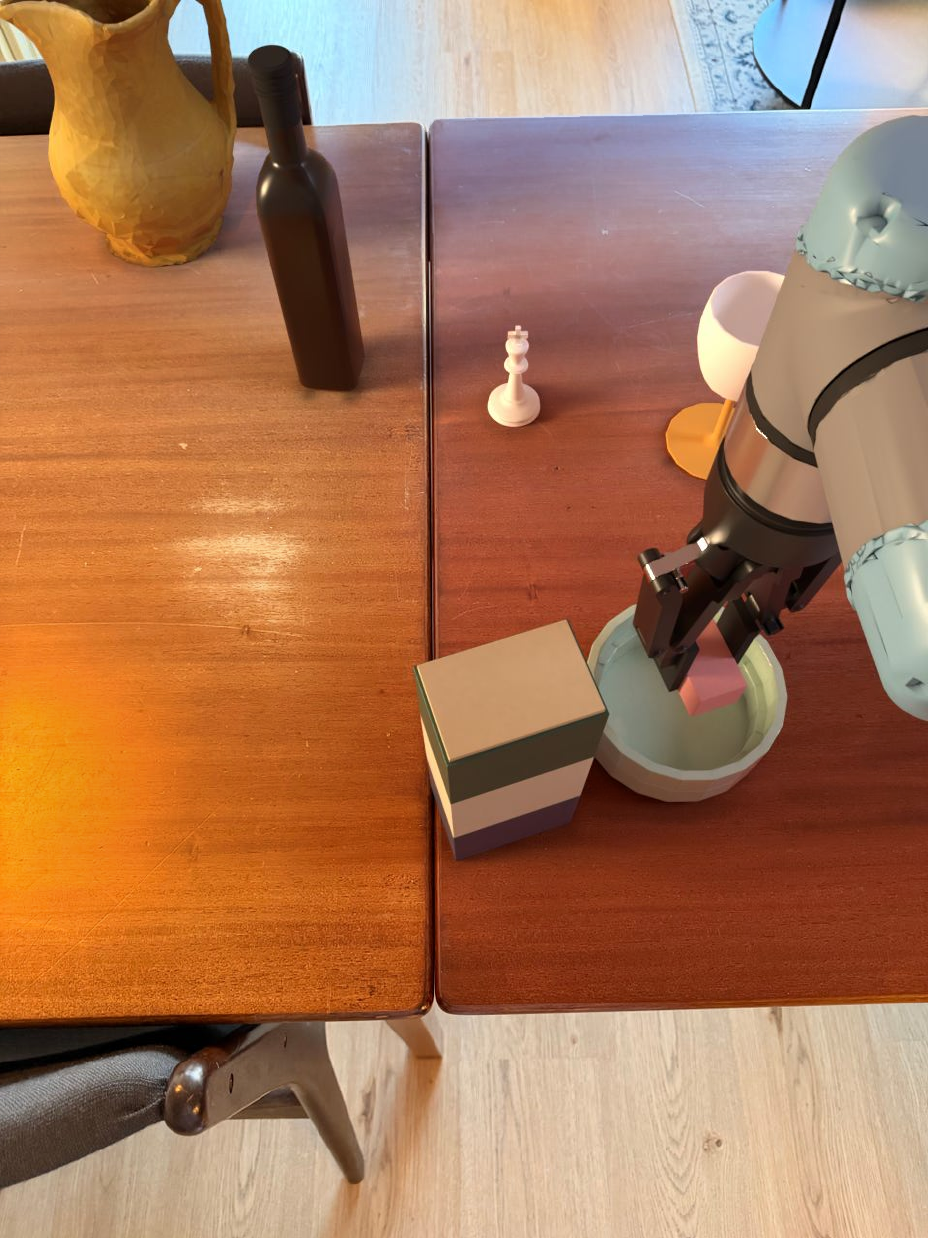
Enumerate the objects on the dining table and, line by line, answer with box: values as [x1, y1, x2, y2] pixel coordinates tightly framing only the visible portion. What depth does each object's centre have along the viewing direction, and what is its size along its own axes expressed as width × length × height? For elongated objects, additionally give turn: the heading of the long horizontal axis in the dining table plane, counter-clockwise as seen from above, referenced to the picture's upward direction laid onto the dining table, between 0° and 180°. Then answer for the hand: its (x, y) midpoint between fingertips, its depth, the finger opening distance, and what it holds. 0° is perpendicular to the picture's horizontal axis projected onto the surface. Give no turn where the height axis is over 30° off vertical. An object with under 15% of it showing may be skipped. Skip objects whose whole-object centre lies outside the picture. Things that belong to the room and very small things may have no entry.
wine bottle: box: [247, 44, 366, 393], centre depth 74 cm, size 6×6×30 cm
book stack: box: [412, 618, 609, 862], centre depth 58 cm, size 6×9×22 cm, turn 108°
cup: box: [665, 270, 785, 481], centre depth 76 cm, size 9×9×16 cm
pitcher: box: [0, 0, 238, 268], centre depth 86 cm, size 17×19×25 cm
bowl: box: [587, 603, 788, 803], centre depth 68 cm, size 14×14×6 cm
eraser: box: [678, 618, 748, 717], centre depth 62 cm, size 7×4×3 cm, turn 18°
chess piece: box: [487, 325, 541, 428], centre depth 81 cm, size 5×5×10 cm
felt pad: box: [416, 619, 605, 762], centre depth 48 cm, size 6×9×1 cm, turn 109°
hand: (693, 664), depth 63 cm, fingers closed on eraser, 3 cm apart
